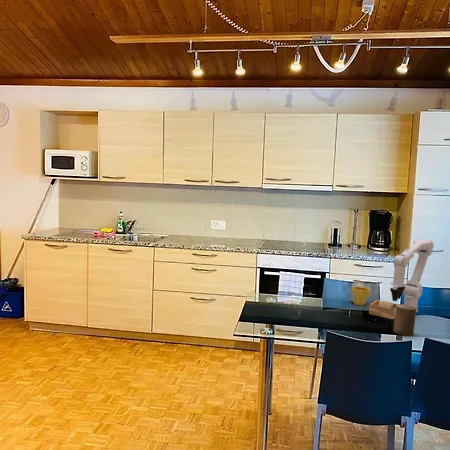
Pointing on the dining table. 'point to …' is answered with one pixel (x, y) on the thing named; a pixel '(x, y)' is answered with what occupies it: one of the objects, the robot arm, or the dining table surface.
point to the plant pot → (360, 295)
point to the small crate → (386, 304)
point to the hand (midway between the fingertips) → (396, 299)
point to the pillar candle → (404, 319)
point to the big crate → (382, 310)
